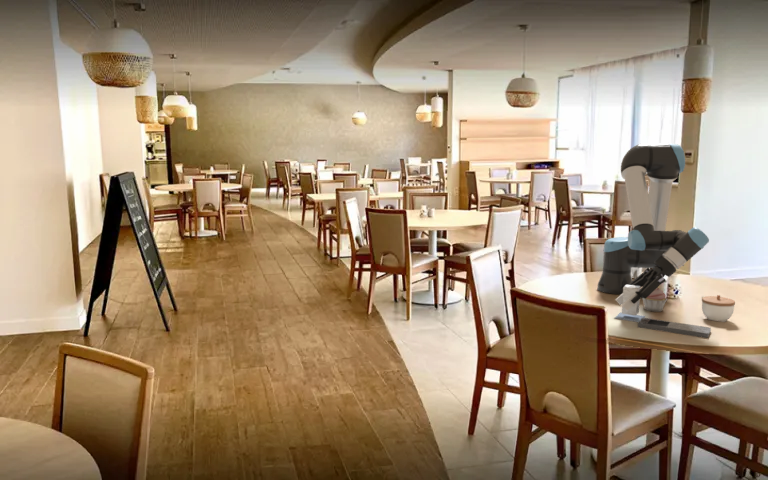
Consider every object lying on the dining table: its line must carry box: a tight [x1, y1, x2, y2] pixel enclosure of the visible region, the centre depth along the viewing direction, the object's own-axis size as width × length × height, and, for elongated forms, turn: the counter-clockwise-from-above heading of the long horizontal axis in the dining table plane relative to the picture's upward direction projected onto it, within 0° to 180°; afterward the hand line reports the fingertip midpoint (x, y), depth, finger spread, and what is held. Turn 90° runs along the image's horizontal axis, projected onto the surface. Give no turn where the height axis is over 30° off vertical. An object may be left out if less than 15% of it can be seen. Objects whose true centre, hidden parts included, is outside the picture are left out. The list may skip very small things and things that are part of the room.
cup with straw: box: [631, 268, 643, 280], centre depth 296 cm, size 8×9×20 cm
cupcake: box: [641, 286, 668, 313], centre depth 242 cm, size 9×9×10 cm
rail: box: [637, 317, 712, 339], centre depth 216 cm, size 22×8×2 cm, turn 57°
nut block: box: [621, 285, 642, 316], centre depth 229 cm, size 5×5×10 cm
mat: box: [614, 312, 646, 323], centre depth 230 cm, size 9×9×1 cm
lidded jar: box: [701, 294, 736, 323], centre depth 228 cm, size 11×11×9 cm
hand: (621, 305), depth 230 cm, fingers closed on nut block, 7 cm apart
